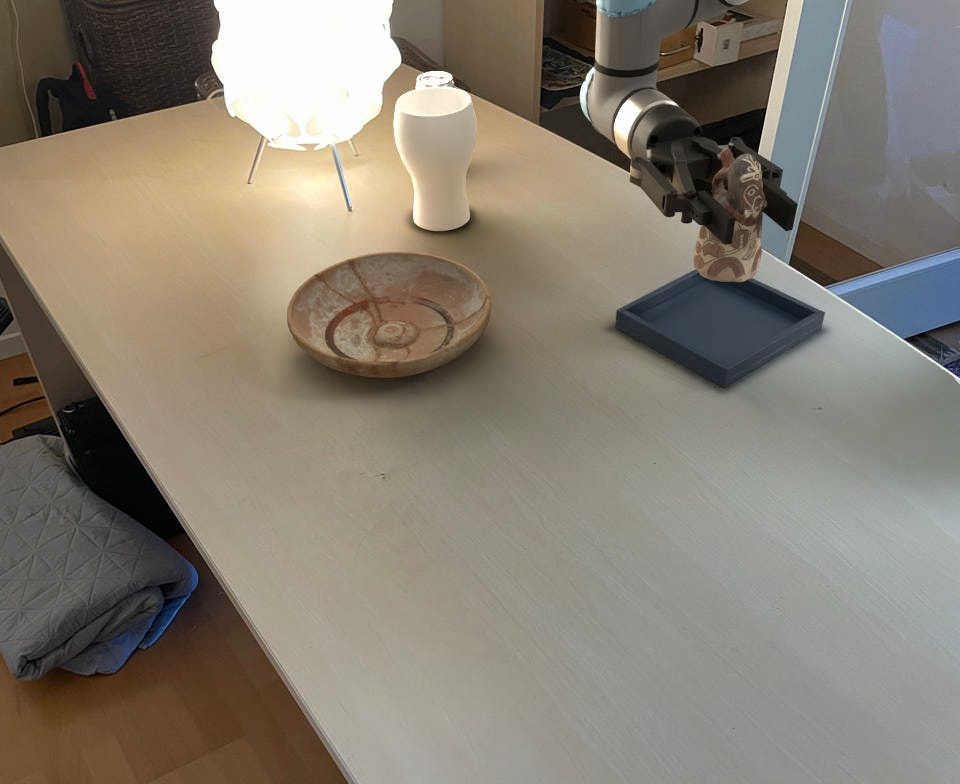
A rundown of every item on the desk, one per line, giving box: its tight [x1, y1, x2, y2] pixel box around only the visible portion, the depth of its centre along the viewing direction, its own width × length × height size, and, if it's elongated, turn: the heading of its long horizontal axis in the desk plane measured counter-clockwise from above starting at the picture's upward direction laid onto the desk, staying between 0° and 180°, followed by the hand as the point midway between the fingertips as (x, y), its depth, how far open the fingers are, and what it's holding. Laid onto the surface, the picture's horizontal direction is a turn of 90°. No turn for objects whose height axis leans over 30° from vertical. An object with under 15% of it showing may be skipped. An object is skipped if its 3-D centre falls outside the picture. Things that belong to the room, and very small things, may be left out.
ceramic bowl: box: [286, 251, 492, 379], centre depth 114 cm, size 23×24×5 cm
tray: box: [614, 268, 826, 389], centre depth 114 cm, size 17×17×2 cm
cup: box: [393, 87, 478, 232], centre depth 130 cm, size 11×11×15 cm
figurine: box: [693, 148, 767, 282], centre depth 104 cm, size 7×7×12 cm
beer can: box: [415, 70, 455, 90], centre depth 142 cm, size 5×5×12 cm
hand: (761, 224), depth 100 cm, fingers closed on figurine, 6 cm apart
